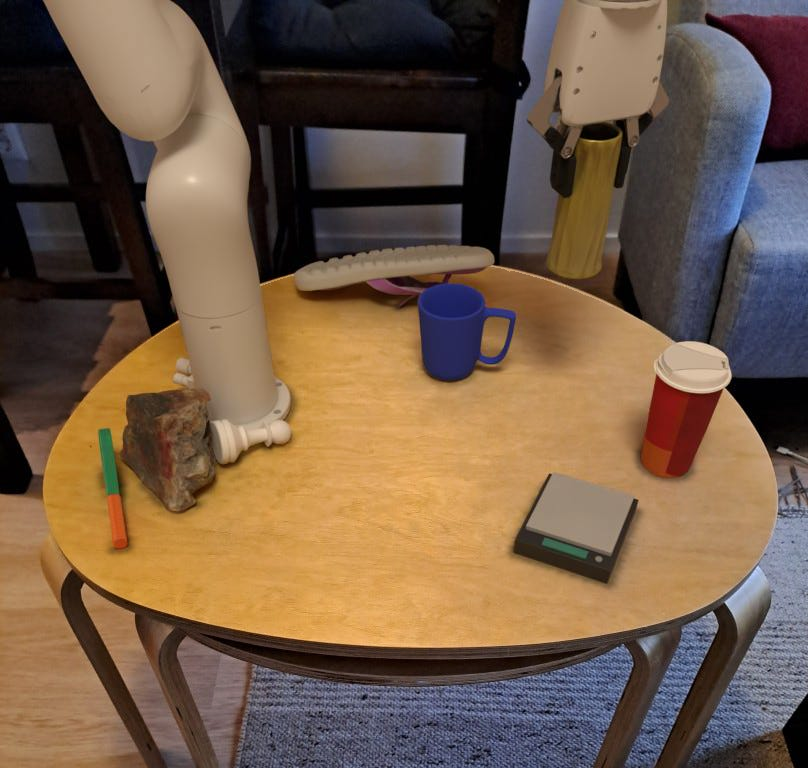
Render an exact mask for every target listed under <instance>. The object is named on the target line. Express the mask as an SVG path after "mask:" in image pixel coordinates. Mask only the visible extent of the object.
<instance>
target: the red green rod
mask: <svg viewBox="0 0 808 768" xmlns="http://www.w3.org/2000/svg"><path fill="white" fill-rule="evenodd" d="M97 434H98V435H97V436H98V445H99V453H100V461H101V467H102V473H103V480H104V481H103V482H104V486H105V492H106V499H107V500H106V501H107V507H108V515H109V522H110V530H111V537H112V545H113V548H115V549H117V550H119V549H123V548H124V549H125V548H126V547H127V546H128V537H127V531H126V524H125V516H124V509H123V502H122V497H121V494H120V488H119V480H118V479H119V478H118V473H117V472H118V471H117V465H116V464H117V463H116V456H115V451H114V442H113V436H112V430H111V428H109V427H105V428H99V429H98V430H97Z"/></svg>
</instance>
